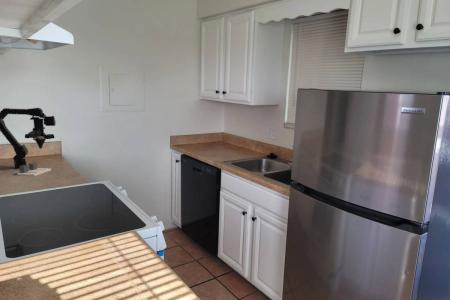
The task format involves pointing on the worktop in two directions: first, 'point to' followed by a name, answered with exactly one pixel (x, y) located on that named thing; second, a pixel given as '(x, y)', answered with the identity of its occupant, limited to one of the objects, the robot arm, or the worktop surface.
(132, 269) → the worktop surface
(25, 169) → the slider
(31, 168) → the slider on
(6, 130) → the robot arm
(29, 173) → the switch plate
